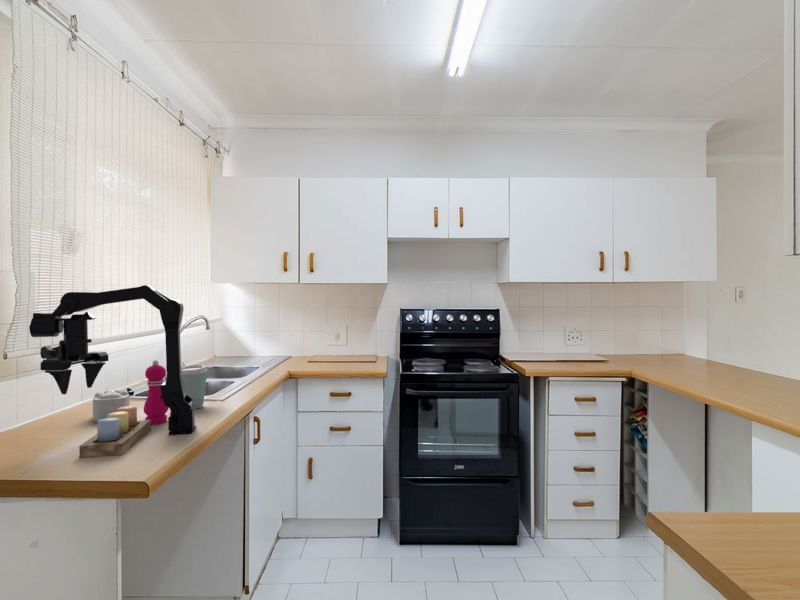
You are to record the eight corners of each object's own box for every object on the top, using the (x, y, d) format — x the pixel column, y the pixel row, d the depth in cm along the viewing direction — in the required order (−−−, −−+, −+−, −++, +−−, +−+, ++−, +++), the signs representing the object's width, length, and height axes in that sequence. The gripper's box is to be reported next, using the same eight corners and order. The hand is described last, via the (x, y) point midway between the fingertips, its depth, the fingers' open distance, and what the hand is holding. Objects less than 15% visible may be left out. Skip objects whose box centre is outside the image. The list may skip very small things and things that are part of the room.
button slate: (122, 435, 134) (122, 417, 134) (115, 441, 129) (115, 422, 129) (102, 436, 133) (101, 418, 133) (94, 442, 128) (94, 423, 128)
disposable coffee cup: (201, 410, 174) (200, 368, 173) (170, 411, 174) (170, 368, 173) (212, 404, 184) (212, 364, 184) (184, 404, 184) (183, 364, 184)
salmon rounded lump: (139, 422, 147) (139, 405, 147) (133, 426, 143) (133, 409, 142) (121, 423, 147) (120, 406, 146) (114, 427, 142) (114, 410, 142)
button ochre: (131, 428, 141) (131, 411, 140) (124, 433, 136) (124, 415, 136) (112, 429, 140) (111, 412, 140) (105, 434, 135) (104, 416, 135)
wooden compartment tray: (151, 429, 150) (150, 419, 150) (122, 454, 127) (122, 443, 127) (115, 431, 149) (115, 421, 148) (79, 457, 125) (79, 445, 125)
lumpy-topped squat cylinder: (90, 422, 159) (90, 396, 158) (97, 413, 170) (96, 388, 170) (127, 419, 163) (127, 393, 163) (131, 410, 175) (130, 386, 175)
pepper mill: (138, 423, 158) (137, 361, 157) (158, 418, 164) (158, 358, 164) (153, 426, 154) (152, 362, 154) (173, 420, 161) (172, 359, 160)
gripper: (75, 333, 150) (76, 384, 150) (21, 339, 132) (22, 397, 132) (109, 333, 149) (110, 384, 149) (59, 339, 130) (60, 398, 131)
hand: (77, 390), depth 140 cm, fingers open, 9 cm apart
